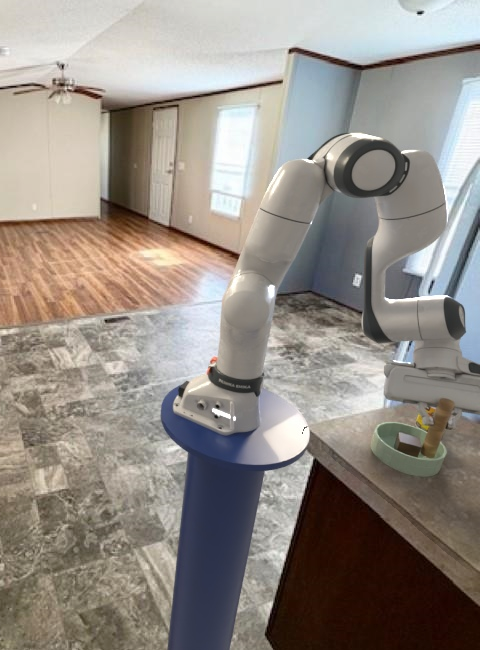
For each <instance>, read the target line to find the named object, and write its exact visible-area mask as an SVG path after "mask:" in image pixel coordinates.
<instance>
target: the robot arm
mask: <svg viewBox="0 0 480 650" xmlns="http://www.w3.org/2000/svg"><path fill="white" fill-rule="evenodd" d="M444 185H445V184H444V181H443V178H442V175H441V171H440V169H439V166H438V164H437V161H436V160H435V158H434V156H433V155H432V153H430V152H428V151H426V150H422V149H408V150H403V151H402V150H400V149H399V148H398V147H397V145H395V144H393V143H392V142H391V141H390V140H388V139H386V138H384V137H380V136H374V135H372V134H370V133H365V132H344V133H339V134H336V135H334V136H332V137H330V138H328V139H327V140H326V141H325V142H324V143H322V144H321V145H320V146H319V147H318V148H317V149H316V150H315V151H314V152H313V153H312V154H311V155H309V156H308V157H307V158H296V159H290V160H288V161H286V162H284V163H283V164H282V165H281V166H280V167H279V169H278V170H277V171H276V173H275V175H274V176H273V178H272V180H271V181H270V183H269V186H268V187H267V189H266V191H265V193H264V195H263V197H262V199H261V202H260V204H259V206H258V209H257V211H256V214H255V216H254V218H253V221H252V224H251V226H250V229H249V232H248V234H247V236H246V239H245V240H244V241H245V242H244V244H243V247H242V249H241V252H240V255H239V257H238V260H237V262H236V264H235V267H234V270H233V272H232V275H231V277H230V280H229V282H228V285H227V286H226V289H225V291H224V293H223V295H222V299H221V307H220V308H221V310H220V320H219V321H220V325H219V343H218V350H217V356H212V358H211V359H210V361H209V364H208V366H207V369H206V373H204V374H201V375H198V376H195V377H194V378H192V379H191V380H190V381H189V380H185V381H184V382H183V383H182V384H180V385H181V386H180V387H179V388H178V392H179V394H178V396H177V397H176V399H175V401H174V404H173V411H174V413H175V414H177V415H179V416H181V417H183V418H186V419H188V420H190V421H192V422H194V423H197V424H199V425H201V426H203V427H206V428H208V429H210V430H212V431H215V432H217V433H219V434H221V435H225V436H227V435H231V434H233V433H238V432H248V431H252V430H254V429H256V428H257V427H259V425H260V424H261V416H260V408H259V398H260V393H261V391H262V388H264V387H263V386H264V380H265V378H264V377H265V371H264V367H265V362H266V361H265V360H266V357H267V356H266V354H267V348H268V343H269V338H270V333H271V329H272V323H273V317H274V312H275V311H274V310H275V308H276V307H275V306H276V299H277V298H276V297H277V295H278V290H279V289H280V286H281V285H282V283H283V281H284V278H285V277H286V275H287V273H288V271H289V270H290V268H291V266H292V264H293V263H294V261H295V259H296V258H297V256H298V253H299V251H300V249H301V247H302V245H303V243H304V240H305V239H306V236H307V235H308V232H309V229H310V228H311V226H312V223H313V221H314V219H315V217H316V214H317V212H318V209H319V207H320V206H321V205H322V204H323V202H324V201H325V200H326V199H327V198H328V197H329V196H330V195H332V194H333V193H335V192H337V193H339V194H341V195H344V196H347V197H348V198H349V197H350V198H354V199H367V198H368V199H369V198H373V199H374V202H375V204H376V211H377V216H378V217H377V218H378V227H377V230H376V233H375V234H374V235H373V236H372V237H370V238H368V240H367V242H366V246H365V250H364V258H363V259H364V260H363V310H362V314H361V329H362V331H363V334H364V336H365V337H367V338H368V339H369V340H371V341H373V342H374V343H376V344H379V345H380V344H389V343H396V342H414V346H413V347H414V348H413V350H412V362H409V361H408V362H407V361H399V360H391V361H388V362H386V363H385V364H384V366H383V375H384V376H385V379H384V385H383V396H384V398H385V399H386V400H388V401H392V402H393V401H394V402H400V403H405V404H412V405H415V410H416V412H417V413H418V415H419V414H420V416H421V417H422V424H423V425H426V426H433V425H434V422H433V421H434V417H430V416H429V415H428V413H427V411H426V410H425V409H426V408H427V406H429V407H435V408H437V405H438V402H439V399H440V398H446V399H449V400H452V401H453V402H454V403H455V405H454V408H453V410H452V413H451V416H450V418H449V421H448V423H447V426H446V429H445V430H449V431H455V430H456V429H457V422H458V421H459V419H460V418H461V416H462V415H463V413H467V414H471V415H478V416H480V363H478V362H475V361H473V360H471V359H468V358H466V357H464V356H463V351H462V350H461V349H462V348H461V347H460V342H461V340H462V337H463V336H465V334H466V333H467V327H466V310H465V306H464V305H463V304H462V303H460V302H459V301H458V300H456V299H455V298H453V297H451V296H448V295H432V296H431V295H429V296H420V297H413V298H411V297H410V298H403V299H389V298H387V297H386V271H387V270H388V269H389V268H390V267H391V266H393V265H394V264H396V263H398V262H400V261H401V260H403V259H405V258H407V257H410V256H412V255H414V254H417V253H419V252H421V251H422V250H424V249H426V248H428V247H429V246H431V245H432V244H433V243H435V242H436V241H437V240H438V239H439V238H440V237H441V236H442V234H443V233H444V232H445V230H446V229H447V226H448V217H449V216H448V214H449V213H448V212H449V211H448V210H449V209H448V201H447V195H446V189H445V186H444Z"/></svg>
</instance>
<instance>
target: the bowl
mask: <svg viewBox="0 0 480 650" xmlns="http://www.w3.org/2000/svg"><path fill="white" fill-rule="evenodd" d="M398 432H400V433H404V434H408V435H412V436H415V437H419V438H420V443H421V448H422V445H423V443H424V440H425V437H426V435H427V432H426V431H424V430H422V429H420V428H417V427H416V426H414V425H413V424H412V425H411V424H407V423H403V422H399V421H398V422H396V421H384V422H381V423H379V424H377V425H376V426H375V428H374V430H373V433H372V436H371V440H370V449H371V451H372V453H373V455H374V456H375V457H376V458H377V459H378V460H380V461H381V462H382V463H383V464H385V465H386V466H388V467H390V468H392V469H394V470H395V471H397V472H400V473H403V474H407V475H410V476H414V477H421V478H423V477H424V478H425V477H432V476H436V475H437V474H438V473H439V472H440V470H441V469H442V466H443V464H444V461H445V459H446V457H447V453H448V451H447V448H446V446H445V445H444V443H443V442H442V440H441V441H440V444H439V447H438V449H437V452H436V454H435V457H434V458H428V457H425V456H423V455H422V454H421V453H419V455H418V458H417V457H413V456H410V455H406V454H404V453H402V452H399V451H397V450H395V449H394V444H395V441H396V438H397V435H398ZM420 451H421V450H420Z"/></svg>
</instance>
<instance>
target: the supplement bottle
mask: <svg viewBox="0 0 480 650" xmlns="http://www.w3.org/2000/svg"><path fill="white" fill-rule="evenodd" d="M425 410H426V411H427V413H428V415H429V416H430V417H433V416H434V413H435V410H436V408H435V407H429V406H427V408H426V409H425ZM414 425H415V427H417V428H420V429H422V430H424V431H426V432H428V429H429V427H430V426H426V425H423V424H422V417H421V416H420V414H419V413H418V415H417V418H416V420H415V423H414Z"/></svg>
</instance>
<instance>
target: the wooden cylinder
mask: <svg viewBox="0 0 480 650" xmlns="http://www.w3.org/2000/svg"><path fill="white" fill-rule="evenodd" d="M454 405H455V403H454V402H453V401H452V400H449V399H446V398H440V399H439V402H438V405H437V408H436V410H435V413H434V416H433V417H434V421H433V422H434V425H433V426H430V427H429V429H428V432H427V435H426V437H425V440H424V443H423V445H422V448H421V451H420V453H421V454H422V455H423V456H425V457H428V458H434V457H435V454H436V452H437V449H438V447H439V444H440V441H441V442H442V439H443V436H444V433H445V431H446V430H447V429H446V426H447V423H448V421H449V420H450V418H451V417H452V415H451V413H452V410H453V408H454Z"/></svg>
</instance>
